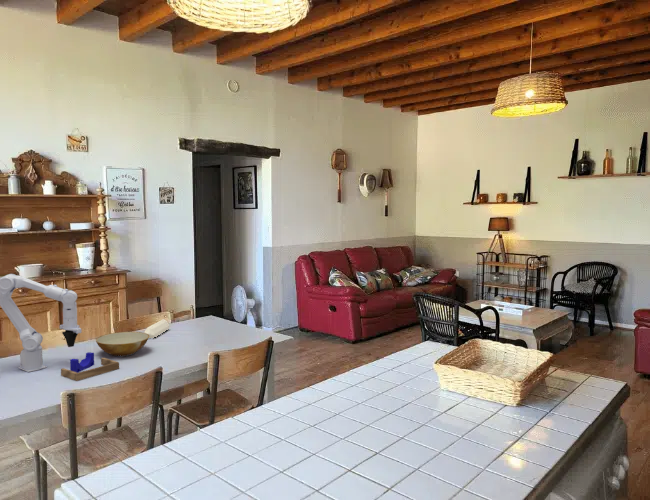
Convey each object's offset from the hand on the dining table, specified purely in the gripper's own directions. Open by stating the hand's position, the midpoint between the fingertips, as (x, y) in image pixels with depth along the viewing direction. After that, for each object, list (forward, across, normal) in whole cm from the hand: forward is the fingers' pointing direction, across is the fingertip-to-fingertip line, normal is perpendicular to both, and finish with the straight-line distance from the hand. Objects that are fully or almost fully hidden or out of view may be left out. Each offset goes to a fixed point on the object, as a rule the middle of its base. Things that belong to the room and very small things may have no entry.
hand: (70, 346), depth 224 cm
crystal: (+10, +16, -60) cm, 63 cm away
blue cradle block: (+10, -8, 0) cm, 12 cm away
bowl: (+9, -2, -26) cm, 28 cm away
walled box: (+9, -16, 0) cm, 18 cm away
